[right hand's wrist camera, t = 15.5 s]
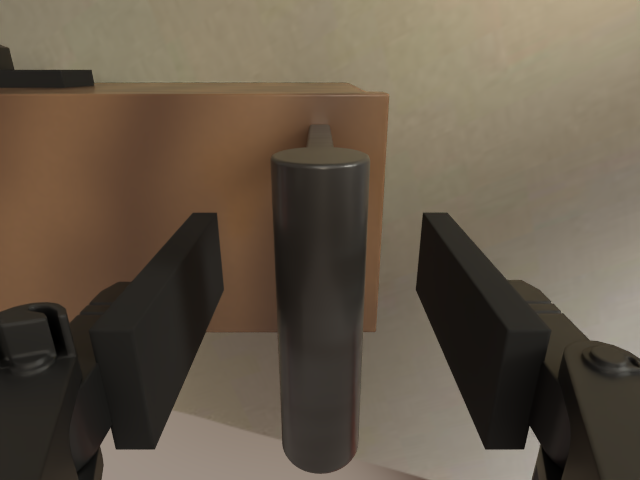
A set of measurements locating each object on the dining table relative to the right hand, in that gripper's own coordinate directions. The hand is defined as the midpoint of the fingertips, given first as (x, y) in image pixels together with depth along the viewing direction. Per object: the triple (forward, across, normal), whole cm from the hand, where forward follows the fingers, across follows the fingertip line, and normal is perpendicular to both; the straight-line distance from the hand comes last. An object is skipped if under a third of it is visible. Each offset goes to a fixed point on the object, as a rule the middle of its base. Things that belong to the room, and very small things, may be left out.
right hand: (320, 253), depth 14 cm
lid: (+4, -6, 0) cm, 7 cm away
